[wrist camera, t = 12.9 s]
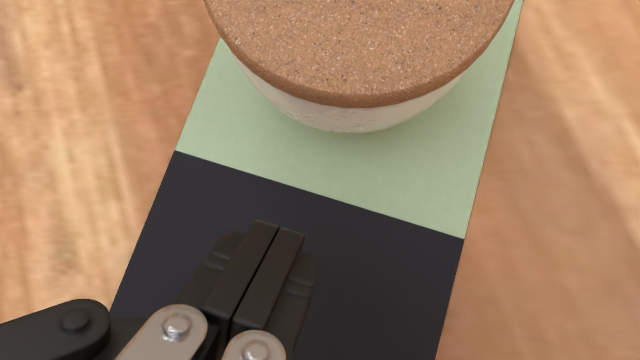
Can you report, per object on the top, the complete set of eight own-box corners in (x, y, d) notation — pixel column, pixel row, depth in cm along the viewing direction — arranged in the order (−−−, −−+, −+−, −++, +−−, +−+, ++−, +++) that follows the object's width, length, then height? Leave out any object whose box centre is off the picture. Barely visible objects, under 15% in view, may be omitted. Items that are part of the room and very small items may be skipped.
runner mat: (384, 558, 18) (384, 561, 18) (60, 436, 19) (58, 437, 19) (523, -5, 23) (524, -7, 23) (264, -71, 25) (264, -73, 24)
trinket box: (457, 172, 21) (554, 84, 12) (227, 156, 21) (150, 58, 12) (459, -29, 23) (542, -231, 14) (252, -41, 24) (205, -243, 15)
